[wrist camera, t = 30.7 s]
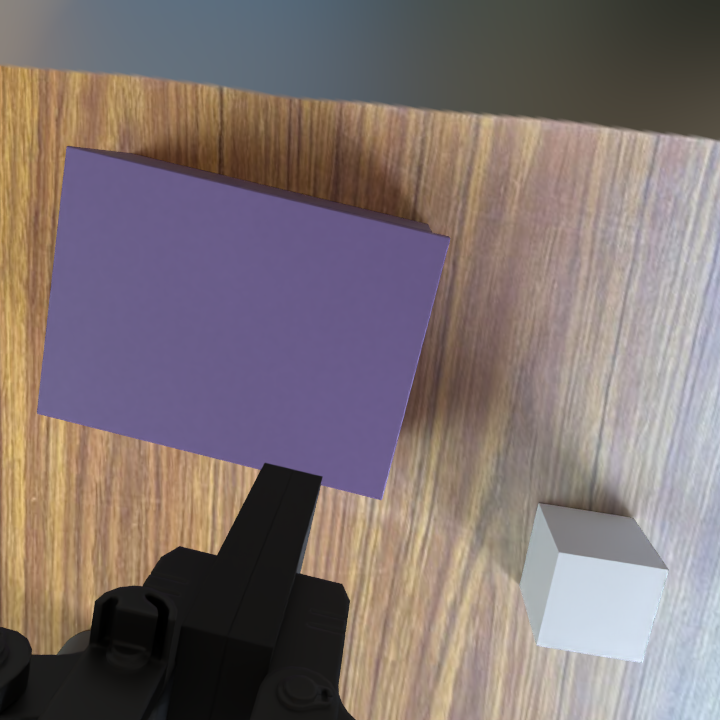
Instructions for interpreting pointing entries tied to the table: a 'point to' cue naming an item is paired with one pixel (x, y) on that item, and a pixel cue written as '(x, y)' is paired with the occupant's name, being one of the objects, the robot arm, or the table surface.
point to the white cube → (591, 583)
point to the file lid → (234, 320)
